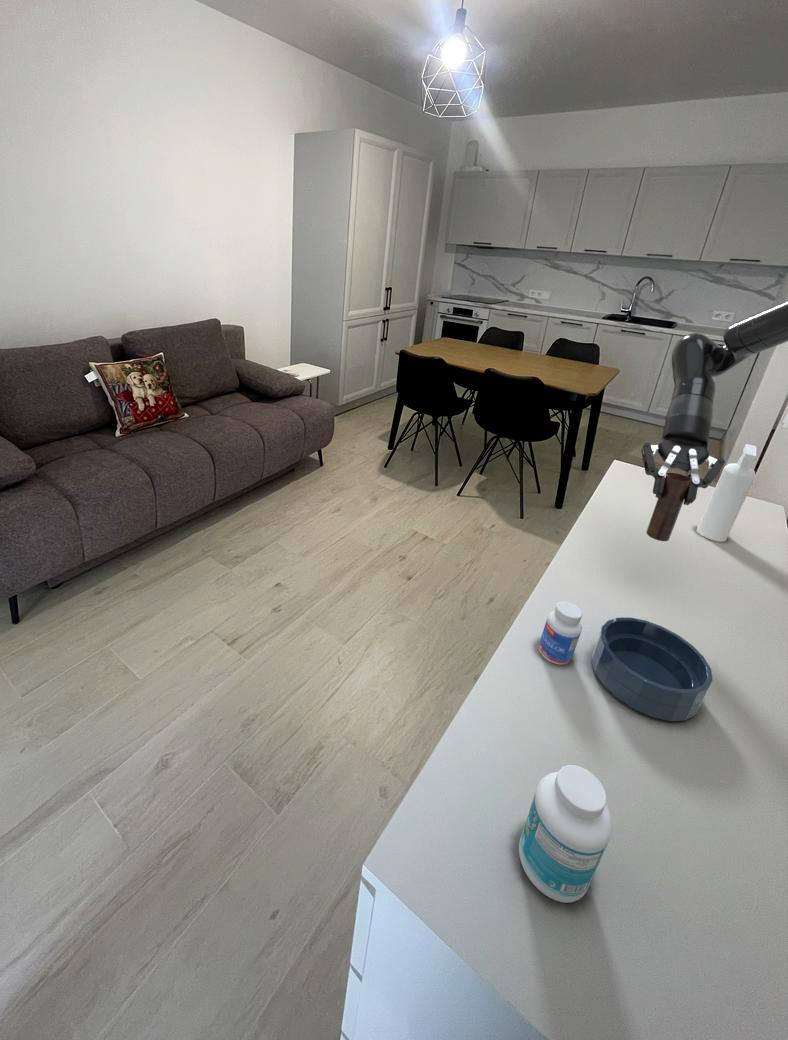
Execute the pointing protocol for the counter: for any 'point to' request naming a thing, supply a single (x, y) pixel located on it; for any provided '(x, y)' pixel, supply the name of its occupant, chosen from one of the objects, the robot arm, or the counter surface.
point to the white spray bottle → (728, 497)
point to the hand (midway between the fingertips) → (673, 499)
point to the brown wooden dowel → (668, 506)
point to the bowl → (651, 668)
